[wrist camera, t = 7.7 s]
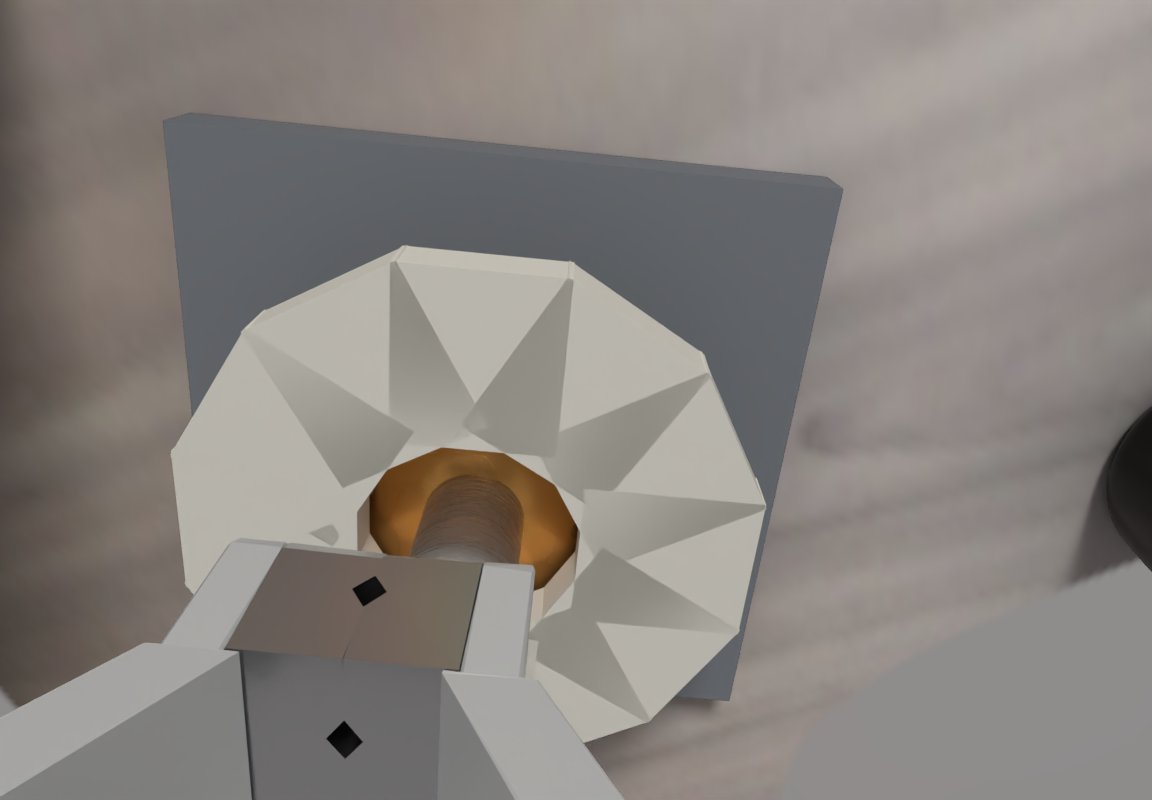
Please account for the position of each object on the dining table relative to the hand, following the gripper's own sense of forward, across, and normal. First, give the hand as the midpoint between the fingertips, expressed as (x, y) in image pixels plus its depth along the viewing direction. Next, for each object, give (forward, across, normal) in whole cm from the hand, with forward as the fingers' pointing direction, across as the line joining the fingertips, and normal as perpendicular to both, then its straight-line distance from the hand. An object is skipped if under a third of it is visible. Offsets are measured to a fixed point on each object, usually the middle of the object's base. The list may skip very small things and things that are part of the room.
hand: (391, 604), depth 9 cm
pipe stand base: (+15, 0, +6) cm, 16 cm away
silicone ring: (+10, 0, +6) cm, 12 cm away
